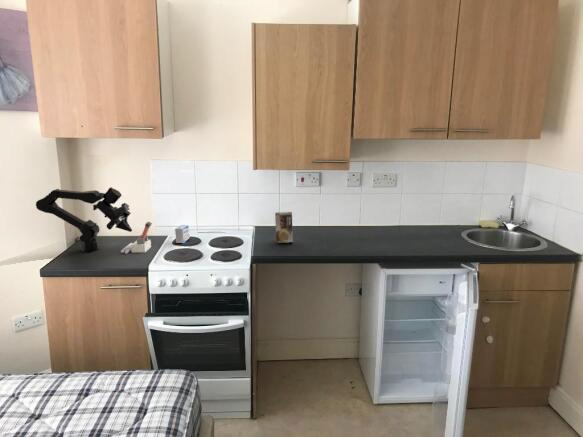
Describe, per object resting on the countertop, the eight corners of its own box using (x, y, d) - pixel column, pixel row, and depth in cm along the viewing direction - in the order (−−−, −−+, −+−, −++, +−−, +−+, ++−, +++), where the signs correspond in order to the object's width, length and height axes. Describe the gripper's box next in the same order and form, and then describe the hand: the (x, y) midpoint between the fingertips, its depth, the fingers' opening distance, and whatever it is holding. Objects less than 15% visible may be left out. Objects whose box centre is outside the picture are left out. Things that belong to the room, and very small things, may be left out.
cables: (127, 254, 227) (126, 251, 227) (119, 254, 228) (118, 251, 227) (137, 245, 242) (137, 242, 241) (130, 245, 242) (130, 242, 242)
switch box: (131, 252, 230) (130, 239, 228) (138, 247, 239) (136, 234, 237) (145, 252, 230) (143, 239, 228) (151, 246, 239) (149, 234, 237)
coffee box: (292, 240, 245) (292, 211, 241) (293, 244, 239) (292, 214, 235) (276, 240, 245) (275, 212, 241) (275, 244, 239) (275, 214, 235)
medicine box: (183, 244, 242) (182, 228, 240) (176, 244, 243) (174, 228, 241) (189, 240, 249) (188, 225, 247) (182, 239, 250) (181, 224, 248)
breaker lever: (139, 240, 231) (145, 223, 229) (141, 238, 235) (148, 221, 232) (142, 242, 231) (149, 224, 229) (144, 240, 235) (151, 223, 232)
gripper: (110, 203, 219) (134, 225, 221) (125, 195, 237) (147, 216, 239) (96, 218, 221) (120, 240, 224) (112, 210, 239) (134, 230, 242)
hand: (131, 231), depth 232 cm, fingers closed
